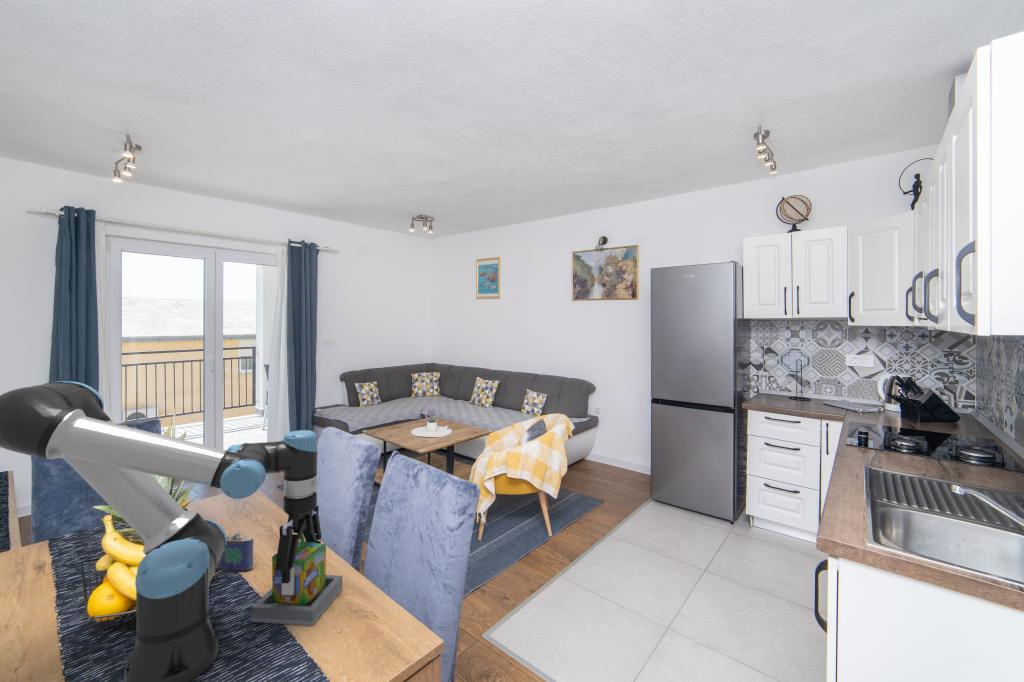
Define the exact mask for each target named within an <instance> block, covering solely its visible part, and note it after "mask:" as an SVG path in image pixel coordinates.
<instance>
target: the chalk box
mask: <svg viewBox="0 0 1024 682" xmlns="http://www.w3.org/2000/svg"><path fill="white" fill-rule="evenodd" d="M276 559H277V552H276V553H275V554H274V555H273V556H272V557H271V566H272V568H271V574H272V575H271V577H272V579H271V580H272V585H271V587H272V588H271V589H272V602H273V603H279V604H286V605H293V606H306V605H307V604H308V603H309V602H310V601H311V600H312V599H313V598H314V597H315V596H317V595H318V594H319V593H320V592H321V591H322V590H323V589H324V588H325V587H326V575H327V574H326V573H327V571H326V570H327V569H326V568H327V567H326V565H327V564H326V563H327V545H326V543H321V544H319V543H315V542H306V540H305V538H304V535H303V533H302V536H301V538H299V541H298V545H297V549H296V553H295V557H294V561H293V565H292V567H295V569H294V594H293V595H282V571H279V570H275V566H276Z"/></svg>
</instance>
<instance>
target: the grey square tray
mask: <svg viewBox="0 0 1024 682" xmlns="http://www.w3.org/2000/svg"><path fill="white" fill-rule="evenodd" d="M342 590H343V575H332V574H326V587H325V588H324V589H323V590H322V591H321V592H320V593H319V594H318V595H317V596H315V597H314V598H313V599H312V600H311V601H310V602H309V603H308V604H307V605H306V606H293V605H286V604H279V603H273V602H272V588H271V589H269V591H267V592H266V593H265V594H264V595H263V596H261V598H260V599H259V600H257V601H256V602H255V603H254V605H252V606H251V614H250V615H251V620H250V622H251V621H252V622H251V623H261V622H263V624H277V623H278V624H279V625H281V624H282V625H292V626H293V625H295V626H297V625H298V626H311V627H312V626H314V625H315V624H316V622H317V621H318V620H319V619H320V618H321V616H322V615H323V614H324V613H325V612H326V610H327V609H328V607H330V605H331V604H332V602H333V601H334V600H335V599H336V598H337V597H338V595H339V594H340V592H341V591H342ZM338 593H339V594H338ZM334 598H335V599H334Z"/></svg>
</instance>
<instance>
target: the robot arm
mask: <svg viewBox="0 0 1024 682" xmlns="http://www.w3.org/2000/svg"><path fill="white" fill-rule="evenodd" d="M104 407H105V403H104V400H103V397H102V396H101V394H100V393H99V392H98V391H97V390H96V389H94V388H93V387H91V386H89V385H87V384H85V383H83V382H78V381H66V380H58V381H50V382H46V383H43V384H38V385H34V386H27V387H22V388H21V387H20V388H19V387H18V388H15V389H12V390H9V391H7V392H5V393H2V394H0V448H2V449H5V450H7V451H11V452H15V453H19V454H22V455H23V454H24V455H26V456H27V455H28V456H32V457H37V458H42V459H47V460H54V459H62V460H64V461H65V462H66V463H67V464H68V465H69V466H70V467H71V468H72V469H73V470H74V471H75V472H76V473H77V474H78V475H79V476H80V477H81V478H82V480H84V481H85V482H86V483H87V484H88V485H89V486H90V488H92V489H93V490H94V491H95V492H96V493H97V494H98V495H99V496H100V497H101V498H102V499H103V500H104V501H105V502H106V503H107V505H109V506H110V507H111V508H112V509H113V510H114V511H115V512H116V513H117V514H118V515H119V517H121V518H122V519H123V520H124V522H126V523H127V524H128V525H129V526H130V527H131V528H132V529H133V530H134V531H135V532H136V533H137V534H138V535H139V537H141V539H143V540H144V541H143V542H144V545H143V549H142V553H143V554H144V555H145V556H143V558H142V559H141V560H140V562H139V564H138V566H137V571H136V575H135V582H134V583H135V584H134V585H135V590H136V591H135V592H136V593H135V594H136V599H135V601H136V607H135V608H136V612H135V613H136V619H135V620H136V624H135V625H136V626H135V627H136V629H135V630H136V632H135V633H136V636H135V637H136V639H135V643H134V645H133V648H132V651H131V653H130V655H129V659H128V662H127V664H126V667H125V669H124V674H123V675H124V676H123V677H124V680H123V681H124V682H189V681H190V682H191V680H192V681H193V680H195V679H196V677H197V678H198V677H200V676H201V675H202V674H204V671H205V670H206V669H207V670H208V669H209V668H210V667H211V666H212V665H213V664H214V663H215V661H216V659H217V658H216V657H218V655H217V654H219V639H218V636H217V634H216V633H215V631H214V628H213V625H212V623H211V619H210V617H209V599H210V598H209V595H210V592H209V588H210V583H211V580H212V579H213V576H214V575H215V573H216V571H217V568H218V567H219V565H220V564H221V560H222V558H223V556H224V553H225V550H226V543H227V538H226V537H227V533H226V532H225V531H226V530H225V529H224V528H223V527H222V525H221V524H219V522H217V521H215V520H212V519H205V518H204V517H203V516H202V515H201V514H200V513H199V512H198V511H196V510H185V509H184V508H183V507H182V506H181V505H180V504H179V503H178V502H177V501H176V499H174V497H172V496H171V494H170V493H169V492H168V491H167V490H166V489H165V488H164V487H163V486H162V485H161V484H160V482H158V480H157V479H156V478H155V477H154V476H159V477H163V478H169V479H173V480H178V481H183V482H186V483H188V482H189V483H192V484H193V483H194V484H197V485H198V484H199V485H202V486H207V487H210V488H211V487H212V488H215V489H216V488H217V489H220V490H221V491H222V493H224V494H225V495H226V496H227V497H228V498H231V499H234V500H235V499H237V500H239V499H240V500H241V499H246V498H248V497H250V496H252V495H254V494H255V493H256V492H257V491H258V490H259V488H261V486H262V485H263V484H264V483H265V480H266V475H268V474H278V473H283V495H284V496H283V511H284V513H285V514H287V515H288V518H287V523H286V524H285V525H280V526H279V538H278V539H279V540H278V546H277V547H278V548H277V552H276V553H277V559H276V566H275V570H279V571H282V595H293V594H294V569H295V567H292V565H293V561H294V557H295V553H296V549H297V545H298V541H300V540H299V538H301V536H302V533H303V536H304V540H305V542H315V543H319V544H322V543H321V542H322V541H321V539H322V531H321V523H320V517H319V516H320V515H319V508H320V507H319V505H318V500H317V499H318V492H316V491H317V490H318V489H317V487H318V483H319V482H318V480H317V479H318V478H317V477H318V475H317V474H318V437H317V433H316V432H314V431H313V430H307V429H304V430H302V429H300V430H295V431H294V430H293V431H289V432H286V433H285V434H284V435H283V436H284V437H283V439H282V440H279V441H267V442H266V441H265V442H253V443H251V442H249V443H248V442H243V443H239V444H233V445H230V446H229V447H227V449H223V448H218V447H214V446H209V445H206V444H203V443H202V444H201V443H197V442H194V441H189V440H186V439H185V440H184V439H181V438H176V437H173V436H168V435H165V434H164V435H163V434H159V433H155V432H151V431H147V430H143V429H139V428H135V427H131V426H127V425H122V424H119V423H115V422H114V421H113V420H112V419H111V417H110V416H108V414H107V413H106V412H105V411H104ZM113 422H114V423H113ZM153 475H154V476H153ZM214 660H215V661H214ZM212 663H213V664H212ZM211 664H212V665H211ZM207 670H206V671H207ZM206 671H205V672H206ZM201 673H202V674H201ZM200 674H201V675H200Z"/></svg>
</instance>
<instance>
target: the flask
mask: <svg viewBox="0 0 1024 682" xmlns="http://www.w3.org/2000/svg"><path fill="white" fill-rule="evenodd" d="M232 535H233V536H232ZM232 535H230V534H229V535H226V538H227V543H226V550H225V553H224V556H223V558H222V560H221V562H220V569H221V570H222V571H221V570H220V571H221V572H226V571H229V572H228V573H232V572H235V573H242V572H243V573H245V572H246V573H247V572H250V571H252V570H253V569H254V538H253V536H249V537H247V536H246V537H241V536H240V535H241V531H238V532H234V533H232Z"/></svg>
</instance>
